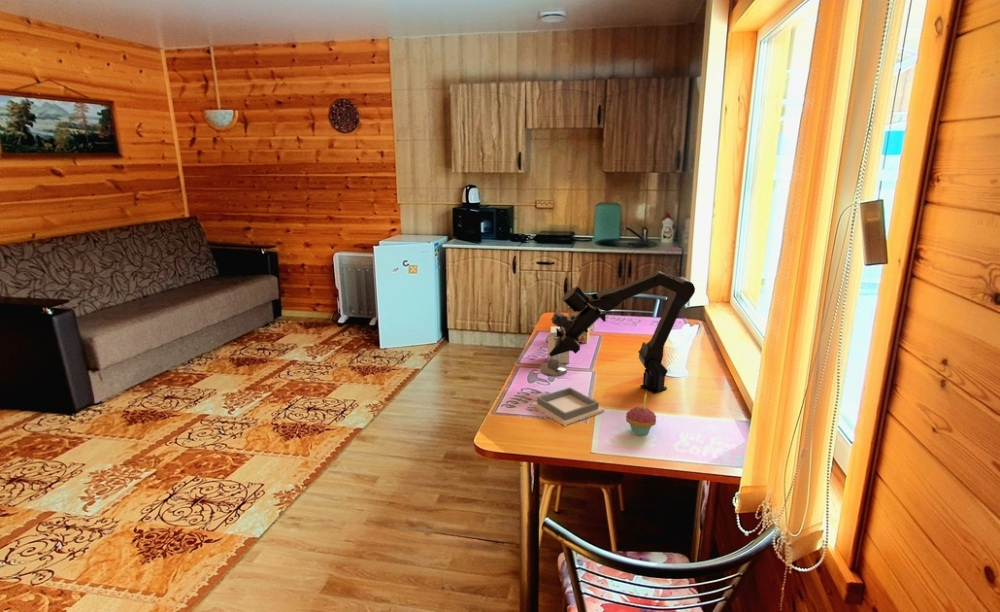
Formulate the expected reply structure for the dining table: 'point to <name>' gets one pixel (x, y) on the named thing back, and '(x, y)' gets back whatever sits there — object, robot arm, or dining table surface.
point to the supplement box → (563, 356)
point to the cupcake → (641, 419)
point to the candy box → (585, 336)
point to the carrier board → (567, 406)
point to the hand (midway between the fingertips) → (549, 352)
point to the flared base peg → (553, 361)
